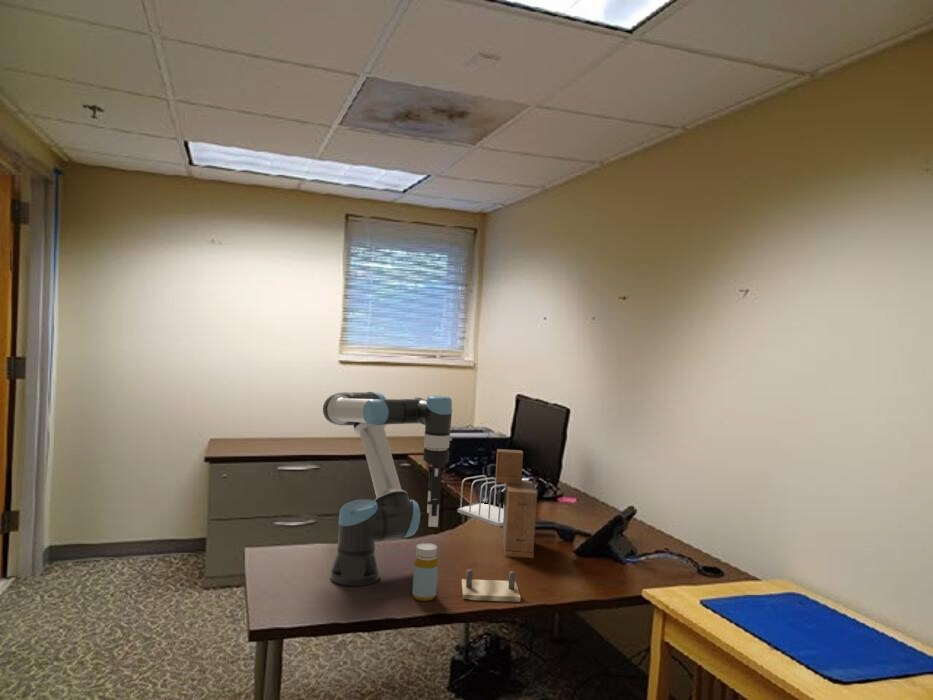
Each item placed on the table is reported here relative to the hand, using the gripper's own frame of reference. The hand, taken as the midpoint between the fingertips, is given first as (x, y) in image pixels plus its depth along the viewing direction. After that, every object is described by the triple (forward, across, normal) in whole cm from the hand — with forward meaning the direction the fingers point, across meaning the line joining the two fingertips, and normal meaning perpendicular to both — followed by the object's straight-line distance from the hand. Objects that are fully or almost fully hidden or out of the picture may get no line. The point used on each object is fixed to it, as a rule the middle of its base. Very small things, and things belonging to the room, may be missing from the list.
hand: (432, 519), depth 188 cm
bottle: (+23, -1, +1) cm, 23 cm away
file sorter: (+24, +85, -30) cm, 94 cm away
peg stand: (+23, +3, -19) cm, 30 cm away
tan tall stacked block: (+23, +45, -34) cm, 61 cm away
